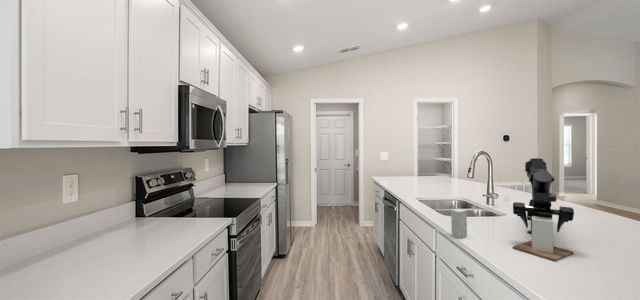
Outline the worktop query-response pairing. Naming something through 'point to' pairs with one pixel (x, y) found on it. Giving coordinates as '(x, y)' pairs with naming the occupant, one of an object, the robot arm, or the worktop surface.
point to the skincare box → (459, 223)
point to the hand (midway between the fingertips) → (542, 229)
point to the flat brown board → (554, 256)
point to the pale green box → (542, 234)
